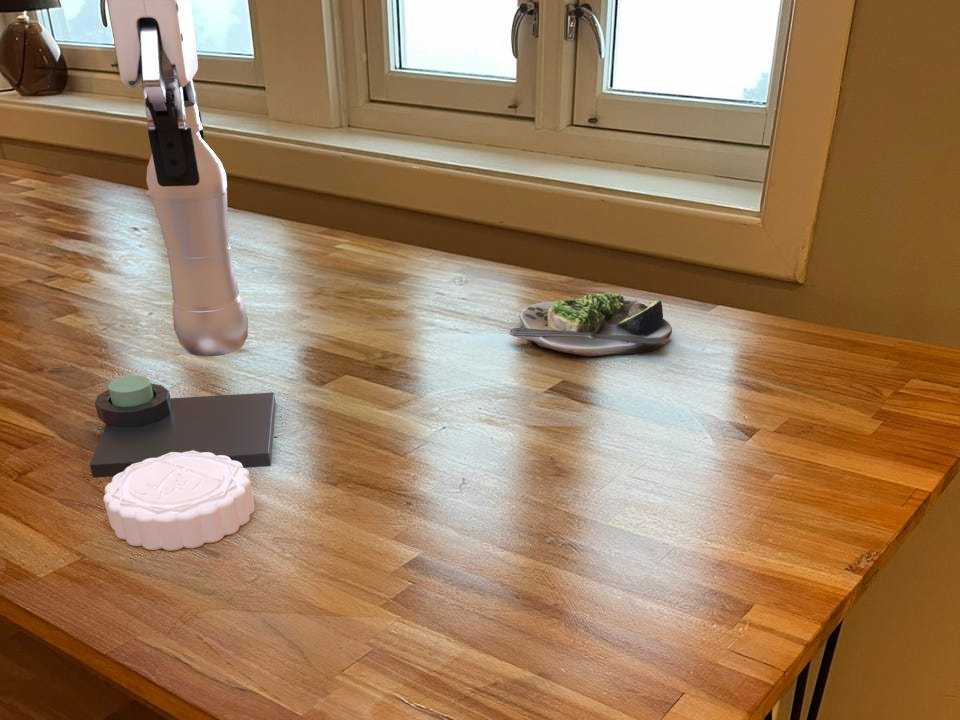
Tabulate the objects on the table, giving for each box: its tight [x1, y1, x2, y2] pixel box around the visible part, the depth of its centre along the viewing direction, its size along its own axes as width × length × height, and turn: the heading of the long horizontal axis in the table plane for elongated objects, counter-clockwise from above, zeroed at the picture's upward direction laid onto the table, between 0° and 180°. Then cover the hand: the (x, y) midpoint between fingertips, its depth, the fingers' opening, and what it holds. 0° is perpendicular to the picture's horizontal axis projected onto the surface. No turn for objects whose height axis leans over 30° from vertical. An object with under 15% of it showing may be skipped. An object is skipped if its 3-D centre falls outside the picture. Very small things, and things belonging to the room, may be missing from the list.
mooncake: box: [103, 450, 255, 552], centre depth 81 cm, size 12×12×4 cm
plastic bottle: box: [145, 101, 249, 357], centre depth 82 cm, size 6×7×20 cm
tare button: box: [107, 375, 154, 407], centre depth 95 cm, size 4×4×2 cm
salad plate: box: [509, 292, 673, 357], centre depth 114 cm, size 19×18×5 cm
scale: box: [89, 383, 277, 479], centre depth 93 cm, size 17×14×3 cm
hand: (184, 172), depth 79 cm, fingers closed on plastic bottle, 6 cm apart
